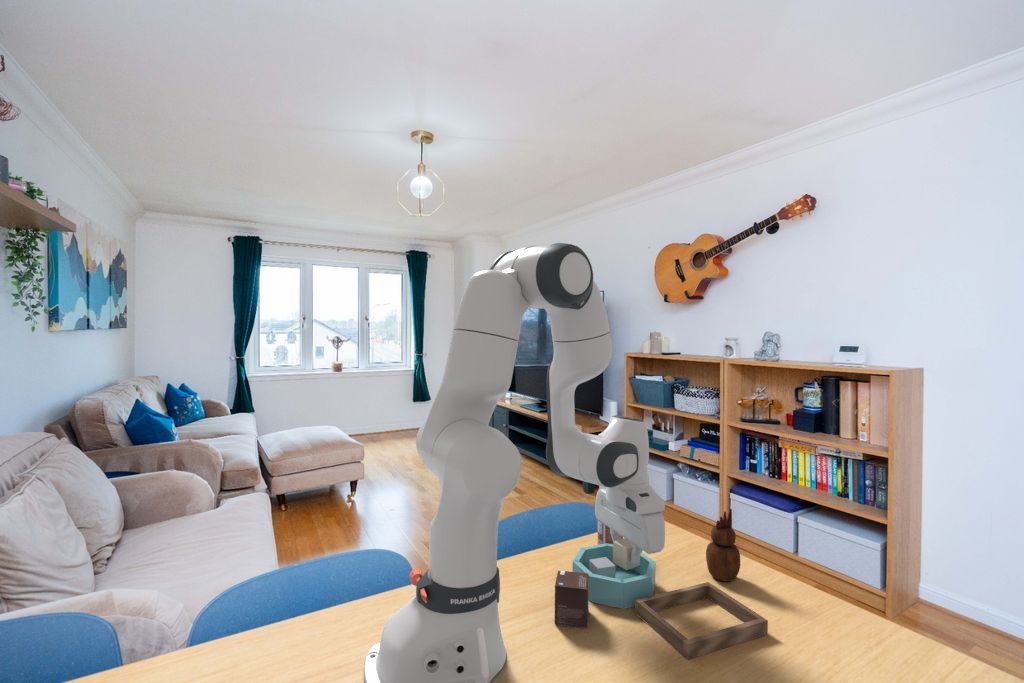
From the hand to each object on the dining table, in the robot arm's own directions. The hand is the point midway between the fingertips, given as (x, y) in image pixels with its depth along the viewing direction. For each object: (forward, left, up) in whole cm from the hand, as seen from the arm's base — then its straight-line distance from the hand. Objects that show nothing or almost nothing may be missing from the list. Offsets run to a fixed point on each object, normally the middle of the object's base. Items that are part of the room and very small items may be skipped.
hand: (626, 555), depth 102 cm
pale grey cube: (-6, 0, -5) cm, 8 cm away
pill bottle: (+6, +15, -6) cm, 17 cm away
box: (-17, -7, -6) cm, 19 cm away
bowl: (-3, 0, -6) cm, 6 cm away
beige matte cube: (0, 0, -2) cm, 2 cm away
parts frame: (+4, -17, -6) cm, 18 cm away
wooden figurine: (+21, -6, -6) cm, 23 cm away
